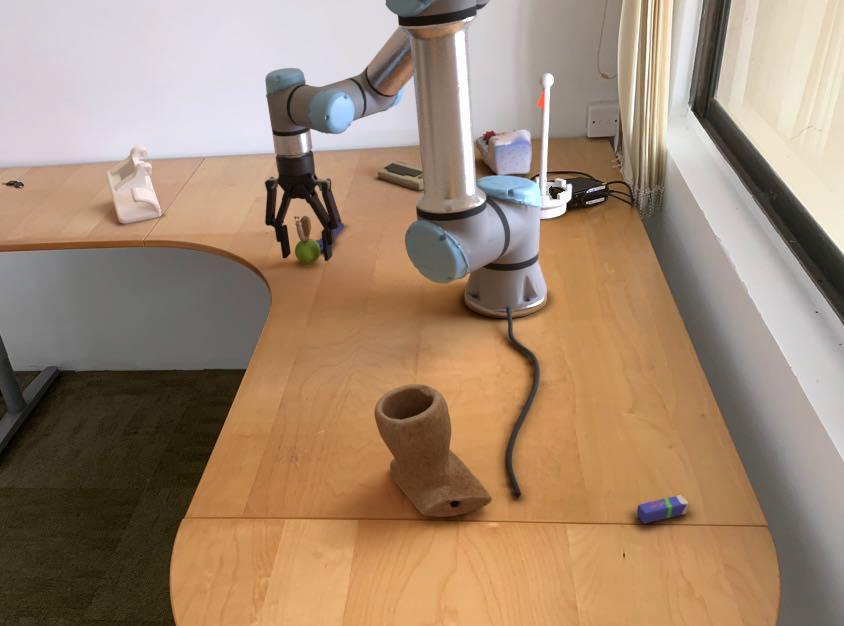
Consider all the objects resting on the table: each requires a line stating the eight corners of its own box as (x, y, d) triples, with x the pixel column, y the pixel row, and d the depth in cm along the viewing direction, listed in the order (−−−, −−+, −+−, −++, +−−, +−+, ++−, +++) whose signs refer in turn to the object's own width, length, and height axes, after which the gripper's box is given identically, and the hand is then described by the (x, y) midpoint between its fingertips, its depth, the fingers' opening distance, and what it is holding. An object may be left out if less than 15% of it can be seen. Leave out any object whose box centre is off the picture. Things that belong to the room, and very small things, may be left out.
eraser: (687, 515, 107) (689, 503, 106) (644, 525, 106) (645, 513, 105) (679, 505, 108) (681, 493, 107) (636, 515, 108) (637, 503, 106)
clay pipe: (369, 471, 120) (360, 383, 112) (445, 448, 123) (441, 361, 114) (411, 538, 108) (404, 445, 100) (494, 511, 111) (494, 418, 102)
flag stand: (524, 196, 201) (528, 64, 184) (578, 202, 195) (587, 66, 178) (503, 216, 192) (505, 79, 175) (559, 223, 186) (566, 82, 169)
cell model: (492, 139, 204) (472, 119, 221) (492, 182, 210) (473, 159, 227) (544, 131, 205) (521, 112, 222) (543, 175, 211) (520, 153, 227)
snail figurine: (291, 270, 179) (283, 216, 172) (301, 257, 184) (294, 204, 177) (315, 271, 177) (308, 217, 170) (325, 258, 182) (318, 205, 175)
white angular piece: (167, 230, 217) (161, 194, 206) (123, 239, 215) (114, 203, 203) (150, 175, 226) (143, 138, 215) (107, 184, 224) (98, 146, 212)
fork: (326, 254, 184) (325, 250, 183) (308, 252, 185) (308, 249, 185) (348, 226, 195) (348, 223, 195) (331, 226, 197) (331, 222, 196)
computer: (377, 179, 220) (376, 166, 218) (400, 170, 224) (399, 158, 222) (419, 191, 210) (418, 179, 208) (442, 182, 214) (441, 169, 212)
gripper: (351, 147, 166) (361, 252, 179) (252, 145, 173) (268, 247, 186) (338, 159, 160) (349, 267, 173) (236, 157, 167) (254, 261, 180)
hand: (307, 256), depth 179 cm, fingers open, 9 cm apart
